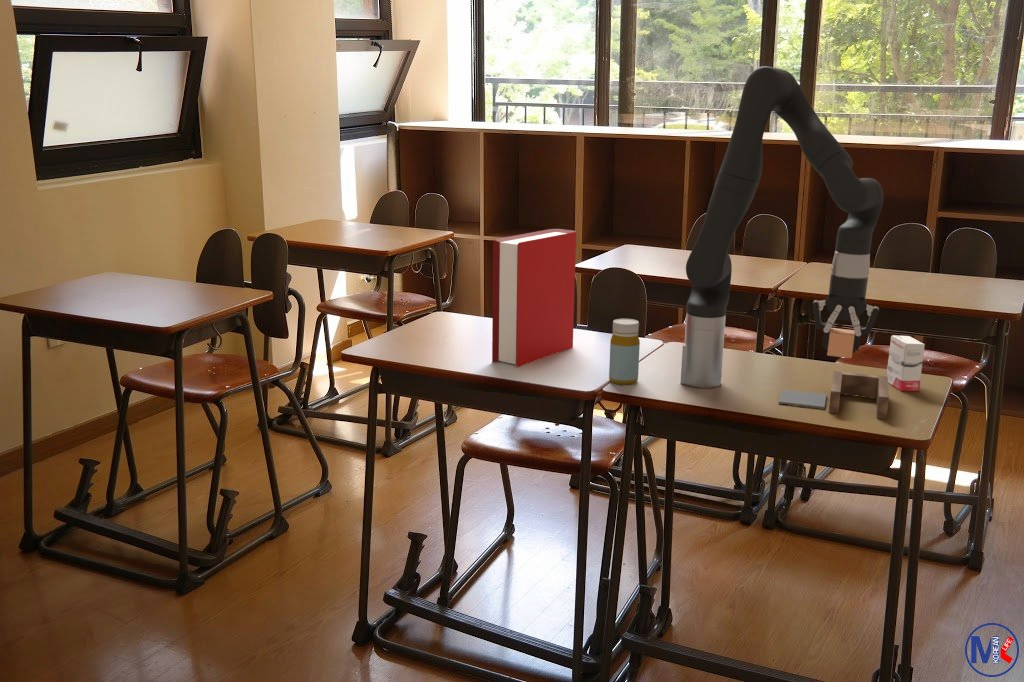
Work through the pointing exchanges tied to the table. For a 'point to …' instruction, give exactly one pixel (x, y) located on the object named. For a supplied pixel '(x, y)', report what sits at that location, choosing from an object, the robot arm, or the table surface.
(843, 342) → the cube
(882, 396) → the cubby
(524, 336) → the book
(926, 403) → the table surface
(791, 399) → the pad
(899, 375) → the ink box
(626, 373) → the bottle
